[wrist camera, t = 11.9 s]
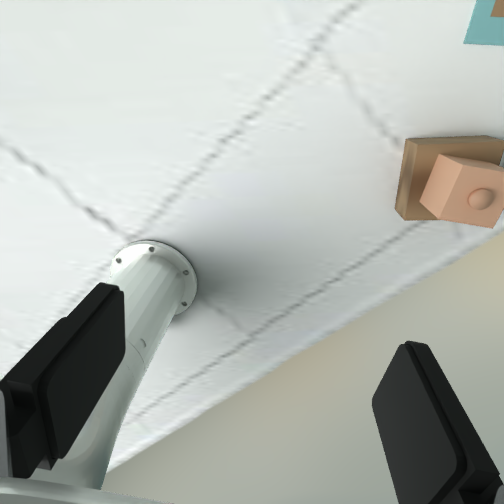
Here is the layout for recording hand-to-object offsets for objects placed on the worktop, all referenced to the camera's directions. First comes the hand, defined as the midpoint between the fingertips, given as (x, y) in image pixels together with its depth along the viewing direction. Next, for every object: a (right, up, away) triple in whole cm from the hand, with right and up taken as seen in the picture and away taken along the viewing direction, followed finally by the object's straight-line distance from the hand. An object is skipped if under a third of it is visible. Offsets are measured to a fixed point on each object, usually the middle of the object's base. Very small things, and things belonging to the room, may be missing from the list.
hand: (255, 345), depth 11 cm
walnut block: (+21, +12, +25) cm, 35 cm away
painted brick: (+20, +10, +22) cm, 32 cm away
